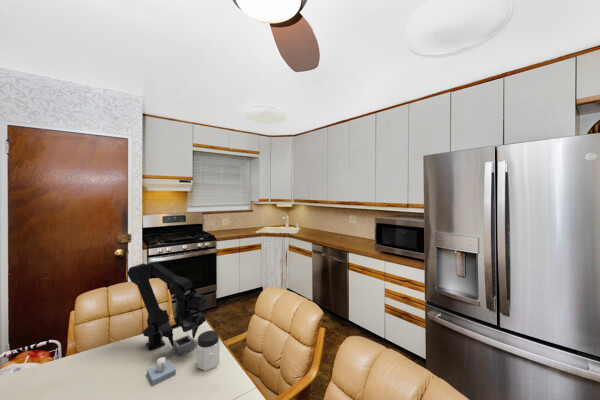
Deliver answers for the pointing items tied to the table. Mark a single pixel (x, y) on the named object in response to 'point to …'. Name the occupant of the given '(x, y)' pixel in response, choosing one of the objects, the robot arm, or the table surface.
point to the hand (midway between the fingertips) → (183, 342)
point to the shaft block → (161, 371)
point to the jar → (208, 350)
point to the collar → (183, 345)
